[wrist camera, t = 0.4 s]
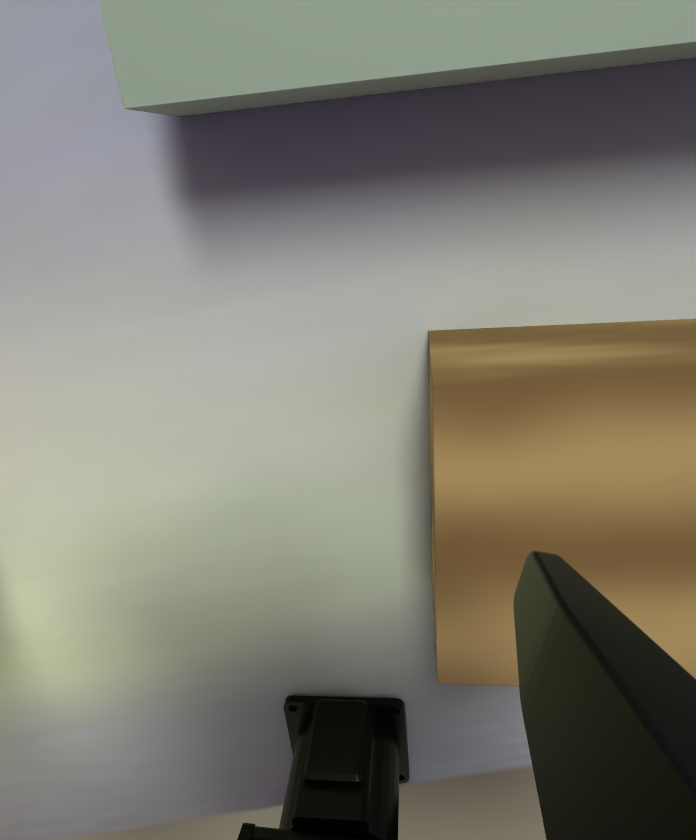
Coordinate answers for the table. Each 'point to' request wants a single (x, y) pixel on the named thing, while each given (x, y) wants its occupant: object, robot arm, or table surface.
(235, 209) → the table surface
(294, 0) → the pale green board
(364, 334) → the table surface
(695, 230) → the table surface
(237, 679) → the table surface
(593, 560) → the tan wooden block
